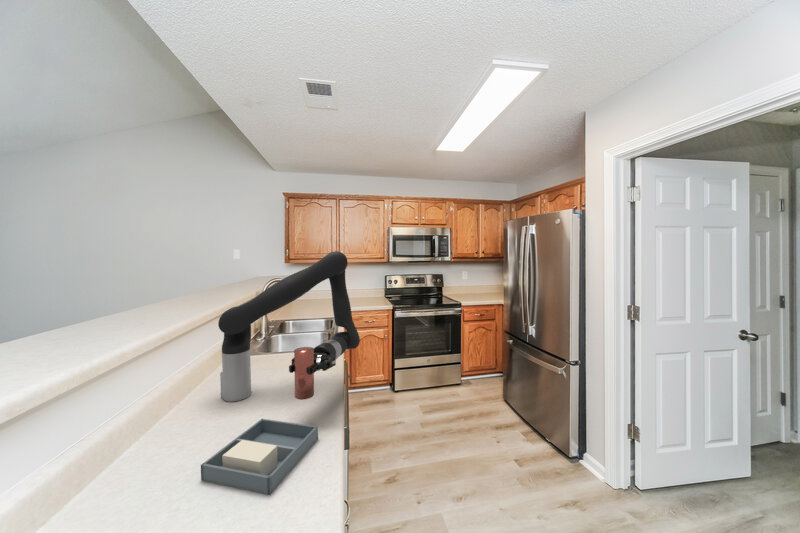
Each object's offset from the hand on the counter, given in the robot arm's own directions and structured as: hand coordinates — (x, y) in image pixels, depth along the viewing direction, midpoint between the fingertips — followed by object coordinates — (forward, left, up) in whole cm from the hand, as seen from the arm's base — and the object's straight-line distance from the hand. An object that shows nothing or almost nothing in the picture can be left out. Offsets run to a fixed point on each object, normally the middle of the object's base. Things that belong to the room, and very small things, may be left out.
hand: (299, 370), depth 88 cm
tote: (-1, -14, -18) cm, 23 cm away
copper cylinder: (0, +3, -8) cm, 9 cm away
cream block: (-1, -19, -17) cm, 26 cm away
